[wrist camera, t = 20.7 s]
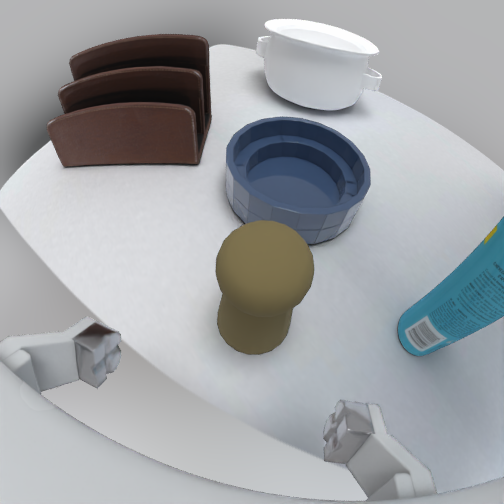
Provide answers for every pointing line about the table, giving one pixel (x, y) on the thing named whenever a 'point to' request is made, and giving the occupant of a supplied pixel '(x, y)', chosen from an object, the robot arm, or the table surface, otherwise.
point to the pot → (317, 63)
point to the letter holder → (135, 102)
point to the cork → (261, 284)
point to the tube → (459, 300)
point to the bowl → (296, 176)
